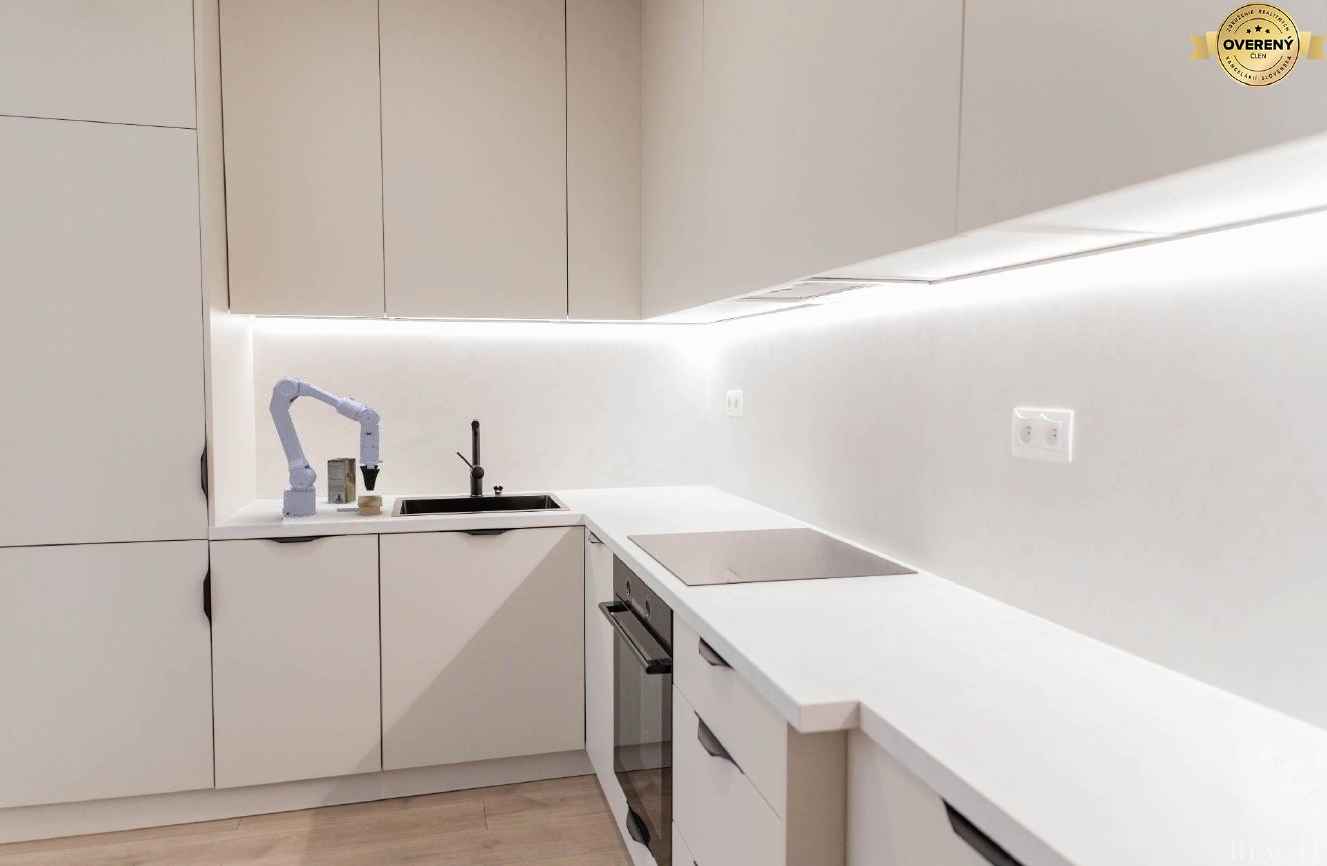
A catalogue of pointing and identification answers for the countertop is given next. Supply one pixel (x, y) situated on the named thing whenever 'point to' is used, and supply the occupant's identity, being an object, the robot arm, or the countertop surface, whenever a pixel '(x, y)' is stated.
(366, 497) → the tan rectangular block
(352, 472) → the coffee box
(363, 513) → the pink square tray
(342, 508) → the mat
